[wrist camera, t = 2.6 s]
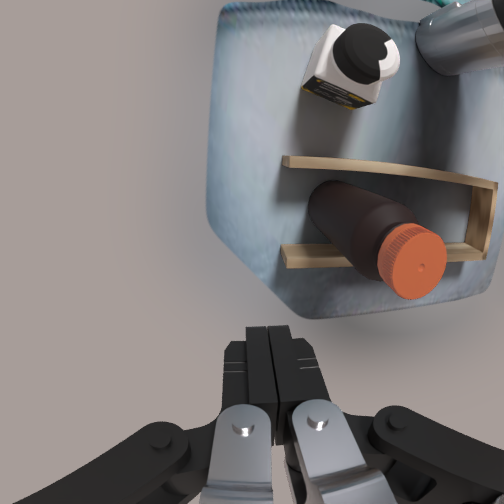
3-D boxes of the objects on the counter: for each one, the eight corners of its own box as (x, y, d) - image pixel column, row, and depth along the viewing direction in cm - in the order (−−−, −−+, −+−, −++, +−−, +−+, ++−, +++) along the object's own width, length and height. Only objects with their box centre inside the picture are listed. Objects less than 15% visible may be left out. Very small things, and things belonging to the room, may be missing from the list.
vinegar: (302, 186, 34) (374, 231, 15) (352, 175, 34) (457, 208, 15) (312, 237, 36) (379, 324, 18) (360, 225, 36) (453, 294, 17)
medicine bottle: (299, 89, 30) (328, 61, 19) (315, 43, 28) (347, 3, 16) (351, 111, 31) (400, 98, 20) (365, 66, 29) (413, 40, 18)
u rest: (282, 155, 33) (289, 156, 28) (477, 177, 34) (498, 182, 29) (280, 253, 37) (286, 268, 32) (467, 249, 38) (485, 259, 34)
